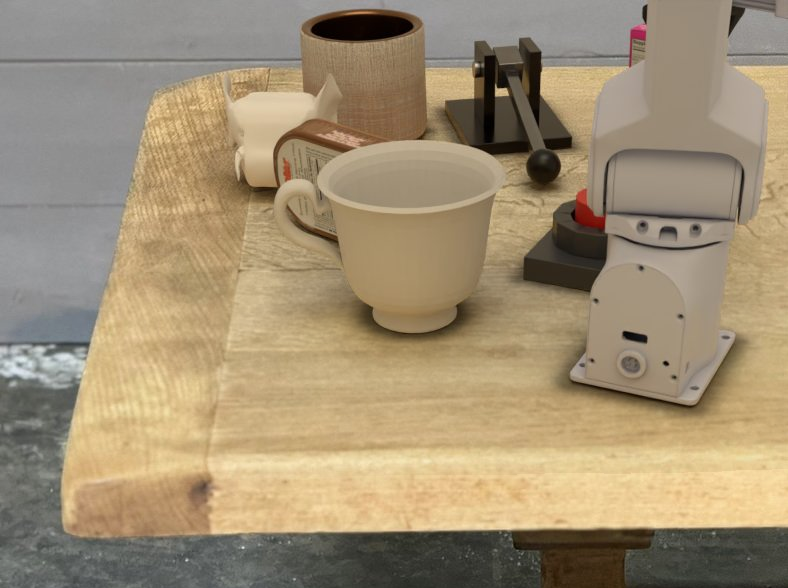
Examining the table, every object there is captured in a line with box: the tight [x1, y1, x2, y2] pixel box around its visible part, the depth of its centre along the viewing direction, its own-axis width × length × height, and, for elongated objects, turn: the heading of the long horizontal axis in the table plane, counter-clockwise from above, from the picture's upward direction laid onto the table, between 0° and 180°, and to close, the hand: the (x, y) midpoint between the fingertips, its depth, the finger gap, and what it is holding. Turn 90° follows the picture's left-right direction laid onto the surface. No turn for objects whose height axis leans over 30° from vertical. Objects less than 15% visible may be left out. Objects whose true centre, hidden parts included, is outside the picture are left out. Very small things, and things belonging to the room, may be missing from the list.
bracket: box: [444, 36, 573, 155], centre depth 117 cm, size 12×9×7 cm
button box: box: [522, 199, 608, 292], centre depth 95 cm, size 10×8×4 cm
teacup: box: [273, 139, 507, 334], centre depth 87 cm, size 12×15×10 cm
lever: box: [492, 45, 562, 185], centre depth 111 cm, size 17×3×3 cm, turn 8°
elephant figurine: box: [222, 71, 343, 188], centre depth 107 cm, size 10×12×9 cm
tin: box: [273, 118, 393, 242], centre depth 97 cm, size 15×3×8 cm, turn 48°
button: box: [575, 187, 606, 229], centre depth 93 cm, size 4×4×2 cm
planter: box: [299, 8, 428, 141], centre depth 116 cm, size 11×11×10 cm
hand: (684, 108), depth 91 cm, fingers closed
